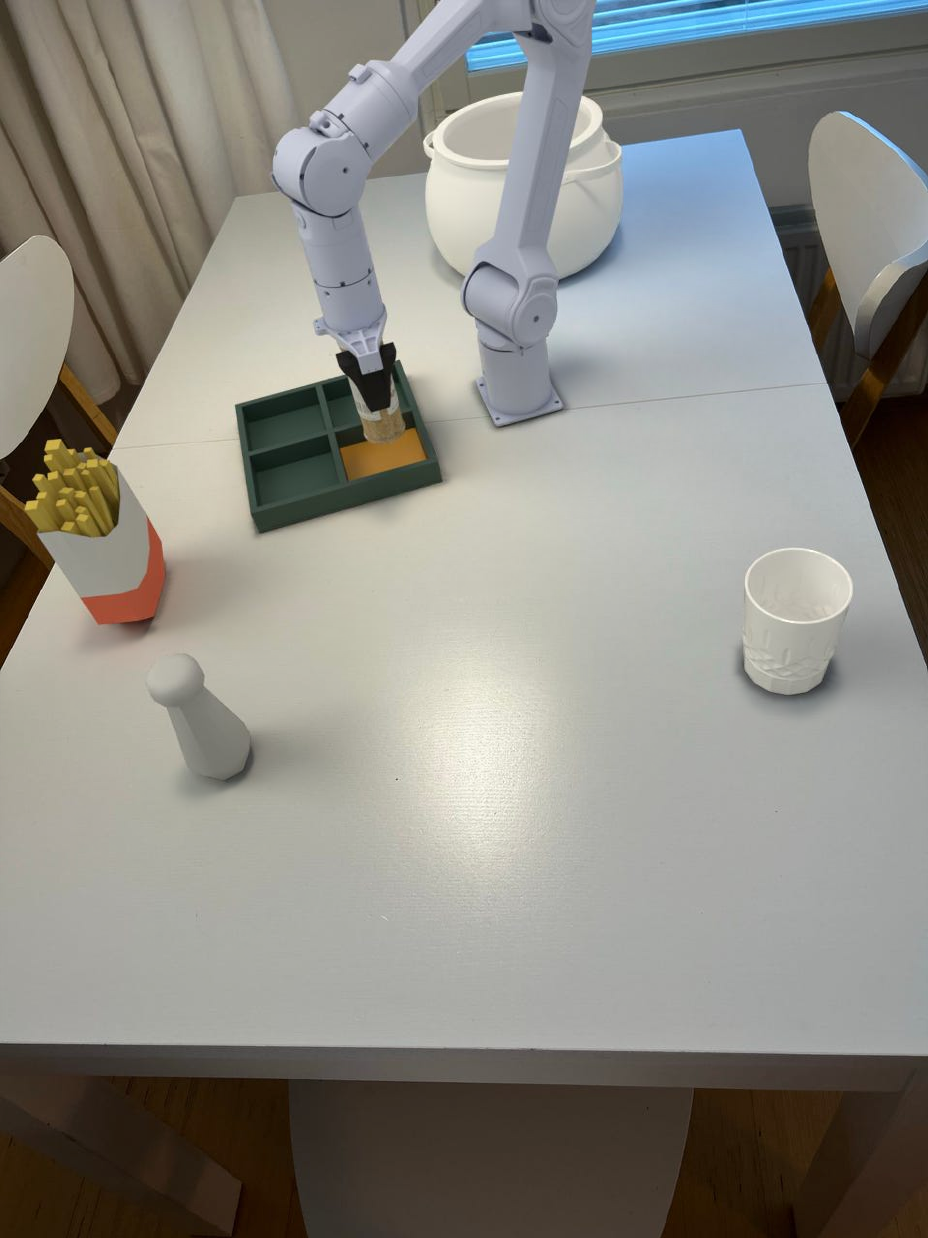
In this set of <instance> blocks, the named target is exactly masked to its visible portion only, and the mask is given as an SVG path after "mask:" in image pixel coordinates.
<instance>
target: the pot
mask: <svg viewBox="0 0 928 1238" xmlns="http://www.w3.org/2000/svg"><path fill="white" fill-rule="evenodd" d="M522 95H523V91H515V92H509V93H505V94H504V93H503V94H499V95H495V96H491V97H488V98H485V99H482V100H479V101H475V102H474V103H470V104H468V105H466V106H464V107H462V108H460V109H458V110H456V111H454V112H453V113H452V114H450V115H448V116H447V117H446V118H445V119H444V120H442V121H441V122H440V123H439V124H438V126H437V127H436V128H435V129H434V130H432V131H430V133H428V134H427V135H426V136H425V137H424V139H423V143H422V145H423V150H424V153H425V155H426V156H427V157H428V158H430V159H431V161H430V166H429V169H428V173H427V176H426V179H425V192H424V199H425V200H424V201H425V211H426V212H425V213H426V219H427V223H428V229H429V233H430V235H431V237H432V239H433V241H434V244H435V245H436V247H437V249H438V251H439V253H440V254H441V256H442V258H443V259H444V260H445V261H446V263H447V264H449V266H450V267H452V268H453V269H454V270H455V271H456V272H458V273H459V274H460V275H462V276H463V277H464V278H465V277H466V275H467V273H468V272H469V270H470V268H471V266H472V264H473V261H474V256H475V251H476V249H477V248H478V247H479V246H480V245H482V244H483V243H485V242H487V241H488V240H490V239H491V238H492V237H493V236H494V233H495V228H496V223H497V218H498V213H499V208H500V203H501V198H502V193H503V188H504V183H505V178H506V173H507V168H508V164H509V159H510V154H511V149H512V144H513V139H514V134H515V129H516V124H517V119H518V114H519V109H520V104H521V99H522ZM603 115H604V114H603V111H602V108H601V106H600V105H599V104H598V103H597V102H595V101H594V100H593V99H591V98H588V97H587V96H585V95H582V97H581V101H580V106H579V110H578V114H577V118H576V123H575V127H574V131H573V135H572V140H571V144H570V148H569V152H568V157H567V161H566V165H565V169H564V174H563V178H562V182H561V186H560V191H559V195H558V199H557V204H556V208H555V212H554V216H553V221H552V225H551V229H550V233H549V238H548V242H547V246H546V249H547V251H548V254H549V256H550V258H551V260H552V262H553V264H554V266H555V268H556V270H557V272H558V275H559V280H561V279H565V278H567V277H569V276H572V275H574V274H576V273H578V272H580V271H582V270H584V269H586V268H587V267H588V266H590V265H591V264H592V263H594V262H595V261H596V260H597V259H598V258H599V257H600V256H601V255H602V254H603V252H604V251H605V250H606V248H607V247H609V245H610V243H611V242H612V241H613V238H614V236H615V233H616V230H617V228H618V227H619V223H620V221H621V217H622V211H623V208H624V175H623V168H622V164H623V163H622V162H623V149H622V147H621V145H620V144H619V143H617V142H616V141H613V140H611V138H610V136H609V134H608V133H607V131H606V130H605V129H604V128H603V119H604V117H603ZM431 144H432V146H433V148H432V147H430V145H431Z"/></svg>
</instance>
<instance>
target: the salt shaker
mask: <svg viewBox="0 0 928 1238" xmlns="http://www.w3.org/2000/svg"><path fill="white" fill-rule="evenodd" d="M200 665H201V664H200V663H199V662H198V661H197V660H196V658H195V657H193V656H191V655H189V654H188V653H185V652H174V653H171V654H167V655H164V656H162V657H160V658H159V659H158V660H157V661H154V662H153V664H152V665H151V666H150V668H149V670H147V672H146V676H145V682H144V683H145V686H146V688H147V691H148V693H149V696H150V697H151V699H152V700H153V701H154V702H155V703H156V704H159V705H160V706H162V707H164V708H166V710H167V713H168V716H169V719H170V722H171V724H172V727H173V729H174V733H175V736H176V738H177V741H178V746H179V749H180V752H181V754H182V758H183V760H184V763H185V764H186V766H187V768H188V769H189V770H190V771H192V772H193V773H196V774H197V775H199V776H200V777H206V778H211V779H215V780H216V779H217V780H220V781H224V782H225V781H226V780H228V779H230V778H232V777H234V776H235V775H237V774H240V773H241V772H243V771H244V770H245V766H246V763H247V760H248V757H249V754H250V750H251V749H250V748H251V737H252V736H251V732H250V730H249V728H248V727H247V725H246V723H245V722H244V721H243V720H242V719H241V718H240V717H239V716H238V715H236V714H235V712H233V711H232V710H231V709H230V708H229V707H228V706H227V705H226V704H225V703H223V702H222V701H221V700H220V699H219V698H218V697H217V696H216V695H215V694H213V692H212V691H211V690H210V689H208V688H207V687H206V686H205V685H204V683H205V674H204V671H203V669H202V667H201V666H200Z"/></svg>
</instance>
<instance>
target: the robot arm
mask: <svg viewBox="0 0 928 1238" xmlns="http://www.w3.org/2000/svg"><path fill="white" fill-rule="evenodd" d="M597 2H598V0H439V2H437V4H436V5H435V7H434V8H433V9H432V10H431V11H430V13H428V15H427V16H426V17H425V18H424V19H423V21H422V22H421V23H420V25H419V26H418V27H416V29H415V30H414V32H413V33H412V34H411V35H410V36H409V38H407V40H406V41H405V42H404V44H402V46H401V47H400V48H399V50H398V51H397V52H396V53H395V54H394V55H393V57H392V58H391V59H390V60H380V59H370V60H368V62H366V64H364V65H363V64H361V63H357V64H355V65H354V67H352V69H351V70H350V71H349V72H348V74H347V75H348V77H349V79H350V80H349V81H348V82H347V83H346V84H345V85H344V86H343V87H342V89H340V91H339V92H338V93H337V94H336V95H335V96H334V97H333V98H332V99H331V100H330V101H329V102H328V103H327V104H326V105H325V106H324V107H323V108H322V110H321V111H320V110H316V111H315V112H313V113H312V115H310V117H309V121H310V122H309V125H308V126H300V128H297V127H295V128H292V129H291V130H289V131H287V133H285V134H284V135H283V136H282V137H281V138H280V140H279V142H278V143H277V145H276V147H275V151H274V154H273V158H272V171H271V172H270V173H269V176H270V181H271V182H272V184H273V186H274V187H275V188H276V189H277V191H279V192H280V193H281V194H282V195H284V196H285V197H287V199H289V201H290V205H291V208H292V212H293V215H294V219H295V222H296V223H295V224H296V226H297V231H298V234H299V235H298V236H299V237H300V241H301V245H302V248H303V252H304V255H305V259H306V262H307V265H308V268H309V272H310V276H311V278H312V282H313V286H314V289H315V292H316V296H317V298H318V303H319V306H320V309H321V313H322V317H319V318H316V319H314V320H313V321H312V326H313V329H314V332H315V335H316V336H318V337H319V336H321V337H322V336H325V335H328V336H330V337H331V338H333V339H334V340H335V341H338V342H339V343H340V344H341V345H342V346H344V347H345V348H346V349H347V350H348V351H344V352H341V351H340V352H337V353H335V358H336V361H337V365H338V367H339V369H340V371H341V372H342V373H343V375H345V374H346V375H347V376H348V377H349V378H350V379H351V380H352V381H353V383H354V384H355V385H356V387H357V388H358V390H359V392H360V394H361V396H362V398H363V400H364V402H365V404H366V406H367V407H368V409H369V410H370V412H376V411H379V410H383V409H386V408H389V407H390V404H391V372H392V368H393V365H394V362H395V361H396V360H397V347H396V345H395V343H394V341H390V342H388V343H384V345H380V343H381V339H382V340H383V338H382V337H383V336H384V331H385V327H386V324H387V321H388V311H387V307H386V305H385V303H384V301H383V299H382V294H381V290H380V286H379V282H378V278H377V273H376V269H375V265H374V261H373V256H372V253H371V249H370V245H369V241H368V240H369V239H368V236H367V235H368V234H367V232H366V227H365V223H364V219H363V215H362V211H361V206H360V200H361V199H362V196H363V194H364V191H365V187H366V181H367V178H368V175H369V174H370V173H371V172H372V170H373V169H372V167H373V165H375V164H376V163H377V161H378V160H379V159H380V158H381V157H382V156H383V155H384V154H385V153H386V152H387V150H389V149H390V148H391V147H392V146H393V145H394V143H395V142H396V141H397V140H398V139H399V138H400V137H401V136H402V135H403V134H404V133H405V131H407V130H408V129H409V128H410V126H411V125H412V124H413V123H414V122H415V121H416V120H417V118H418V115H419V96H420V95H421V94H422V93H423V92H425V91H426V89H428V87H429V86H431V85H432V84H433V83H434V82H435V81H436V80H437V79H438V78H440V77H441V75H443V74H444V73H445V72H446V71H447V70H448V69H449V68H450V67H451V66H452V65H454V63H456V62H457V61H458V60H459V59H460V58H461V57H462V56H463V55H464V54H465V53H467V52H468V50H470V49H471V48H473V46H474V45H475V44H476V43H478V41H480V40H481V39H482V38H483V37H484V36H486V34H489V33H501V32H502V33H503V32H504V33H505V32H511V34H512V36H513V38H514V40H515V41H516V43H517V45H518V47H519V48H520V50H521V52H522V53H523V55H524V57H525V58H526V60H527V70H526V74H525V75H526V76H525V81H524V84H523V85H524V86H523V90H522V92H523V95H522V99H521V104H520V109H519V114H518V119H517V124H516V129H515V134H514V139H513V144H512V149H511V154H510V159H509V164H508V168H507V173H506V178H505V183H504V188H503V193H502V198H501V203H500V208H499V213H498V218H497V223H496V228H495V233H494V236H493V237H492V238H491V239H490V240H488V241H487V242H485V243H483V244H482V245H480V246H479V247H478V248H477V249H476V251H475V256H474V261H473V264H472V266H471V268H470V270H469V272H468V273H467V275H466V277H465V276H464V279H463V281H462V284H461V287H460V295H459V298H460V303H461V306H462V309H463V310H464V312H465V313H466V314H467V315H468V316H470V317H472V318H474V324H475V328H476V330H477V333H476V337H477V339H476V340H477V345H478V351H479V358H480V365H481V370H482V377H478V378H476V379H475V385H476V387H477V389H478V391H479V394H480V396H481V398H482V400H483V402H484V404H485V406H486V408H487V411H488V412H489V415H490V417H491V419H492V421H493V423H494V426H496V427H504V426H508V425H510V424H513V423H517V422H521V421H524V420H528V419H531V418H535V417H538V416H541V415H546V414H548V413H553V412H556V411H560V410H562V409H563V408H564V404H563V402H562V400H561V399H560V396H559V394H558V393H557V392H556V389H555V388H554V385H553V384H552V382H551V376H550V366H549V355H548V343H547V338H548V337H549V336H550V333H551V331H552V329H553V327H554V325H555V322H556V319H557V316H558V297H557V290H558V285H559V280H560V279H559V275H558V272H557V270H556V268H555V266H554V264H553V262H552V260H551V258H550V256H549V254H548V251H547V249H546V246H547V242H548V238H549V233H550V229H551V225H552V221H553V216H554V212H555V208H556V204H557V199H558V195H559V191H560V186H561V182H562V178H563V174H564V169H565V165H566V161H567V157H568V152H569V148H570V144H571V140H572V135H573V131H574V127H575V123H576V118H577V114H578V110H579V106H580V101H581V97H582V96H583V93H584V88H585V85H586V79H587V75H588V71H589V67H590V63H591V59H592V54H593V53H592V52H593V51H592V50H593V19H594V15H595V11H596V6H597Z"/></svg>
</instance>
